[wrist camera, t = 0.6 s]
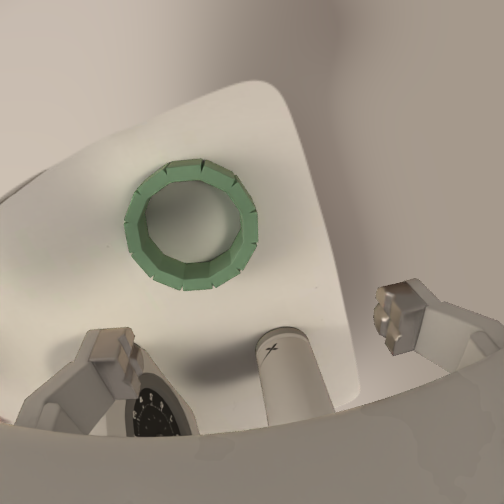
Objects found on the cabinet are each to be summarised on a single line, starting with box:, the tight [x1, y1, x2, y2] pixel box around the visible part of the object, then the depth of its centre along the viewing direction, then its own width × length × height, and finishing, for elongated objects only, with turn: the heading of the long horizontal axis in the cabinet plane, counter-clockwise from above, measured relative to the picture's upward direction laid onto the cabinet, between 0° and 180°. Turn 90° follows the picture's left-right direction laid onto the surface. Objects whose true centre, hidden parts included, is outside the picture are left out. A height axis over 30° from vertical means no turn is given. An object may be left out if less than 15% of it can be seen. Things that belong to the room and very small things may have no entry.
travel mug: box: [255, 327, 335, 426], centre depth 26 cm, size 6×7×20 cm
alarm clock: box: [89, 349, 200, 437], centre depth 27 cm, size 21×8×20 cm, turn 18°
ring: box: [124, 159, 258, 291], centre depth 26 cm, size 11×11×3 cm
